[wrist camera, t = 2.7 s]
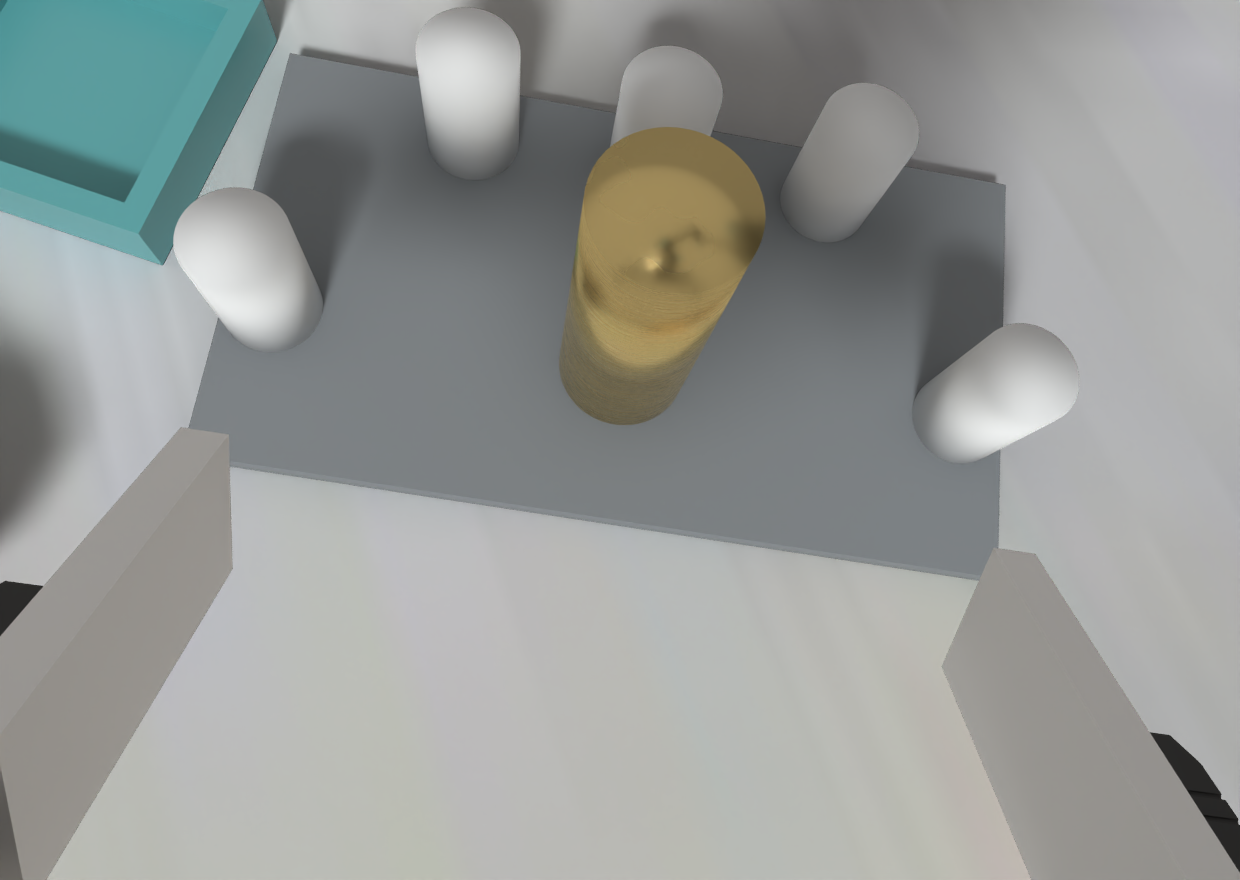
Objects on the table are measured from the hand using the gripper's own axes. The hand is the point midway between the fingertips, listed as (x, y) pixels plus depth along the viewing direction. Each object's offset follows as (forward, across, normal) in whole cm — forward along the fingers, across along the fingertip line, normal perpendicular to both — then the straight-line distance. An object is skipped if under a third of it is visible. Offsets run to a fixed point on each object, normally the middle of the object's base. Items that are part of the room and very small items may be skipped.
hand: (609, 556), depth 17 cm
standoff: (+14, +1, -3) cm, 14 cm away
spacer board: (+16, +1, -2) cm, 16 cm away
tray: (+19, -18, +1) cm, 26 cm away
